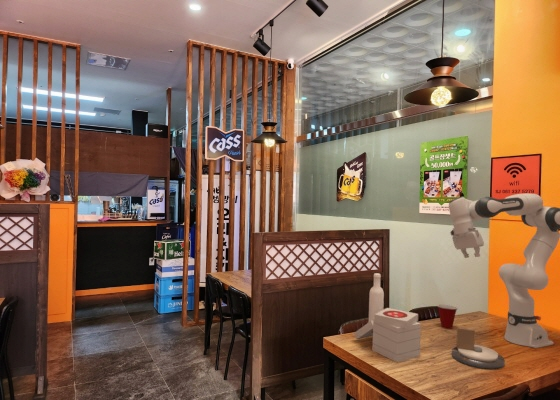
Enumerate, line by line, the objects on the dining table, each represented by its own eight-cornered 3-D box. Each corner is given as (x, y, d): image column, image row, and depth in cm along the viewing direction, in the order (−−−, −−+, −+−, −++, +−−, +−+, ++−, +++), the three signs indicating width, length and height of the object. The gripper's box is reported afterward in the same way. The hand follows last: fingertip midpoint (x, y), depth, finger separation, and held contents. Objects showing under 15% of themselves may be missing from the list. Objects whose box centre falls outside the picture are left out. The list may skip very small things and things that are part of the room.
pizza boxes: (377, 335, 198) (378, 301, 198) (426, 357, 172) (427, 317, 172) (349, 342, 188) (350, 305, 188) (397, 365, 162) (398, 323, 162)
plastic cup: (458, 326, 217) (459, 305, 217) (455, 331, 208) (456, 309, 208) (438, 322, 223) (438, 302, 223) (434, 327, 214) (435, 306, 214)
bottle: (366, 325, 213) (367, 272, 214) (380, 325, 214) (381, 272, 214) (371, 330, 205) (372, 275, 206) (385, 330, 206) (386, 275, 206)
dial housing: (479, 348, 184) (479, 344, 184) (516, 367, 163) (516, 362, 163) (441, 351, 179) (442, 346, 179) (474, 371, 158) (474, 366, 158)
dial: (494, 350, 176) (495, 328, 176) (500, 364, 161) (501, 339, 161) (455, 345, 182) (456, 323, 182) (457, 357, 167) (458, 333, 167)
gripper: (482, 225, 179) (491, 255, 176) (459, 230, 199) (467, 256, 197) (470, 228, 178) (478, 257, 176) (448, 232, 198) (455, 259, 196)
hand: (472, 257), depth 186 cm, fingers open, 8 cm apart
